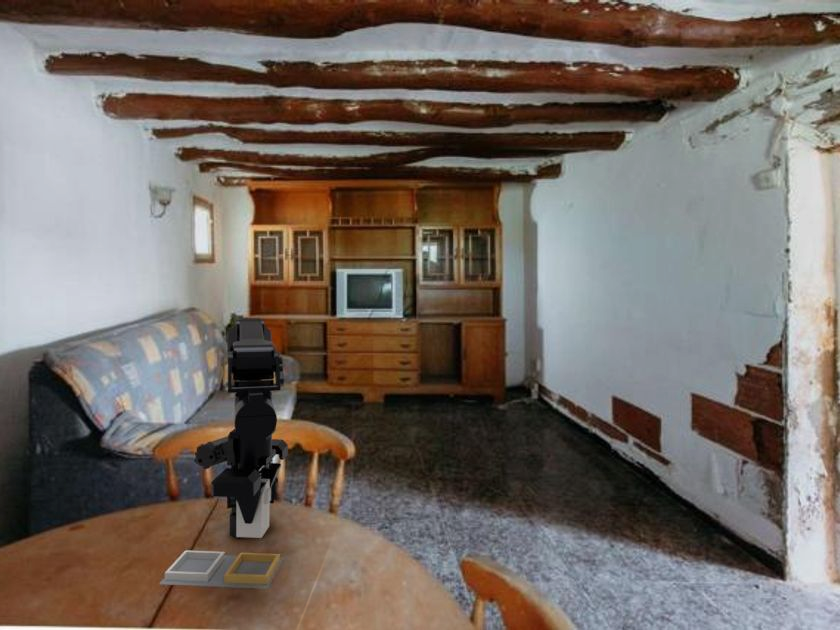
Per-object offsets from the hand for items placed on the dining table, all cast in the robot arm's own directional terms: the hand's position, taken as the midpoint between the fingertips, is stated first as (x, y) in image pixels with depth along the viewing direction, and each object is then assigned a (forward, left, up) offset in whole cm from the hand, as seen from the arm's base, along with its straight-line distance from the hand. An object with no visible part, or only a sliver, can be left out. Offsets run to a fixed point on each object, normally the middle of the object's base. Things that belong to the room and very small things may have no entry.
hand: (253, 516), depth 85 cm
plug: (0, 0, -2) cm, 2 cm away
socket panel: (+3, -4, -10) cm, 11 cm away
